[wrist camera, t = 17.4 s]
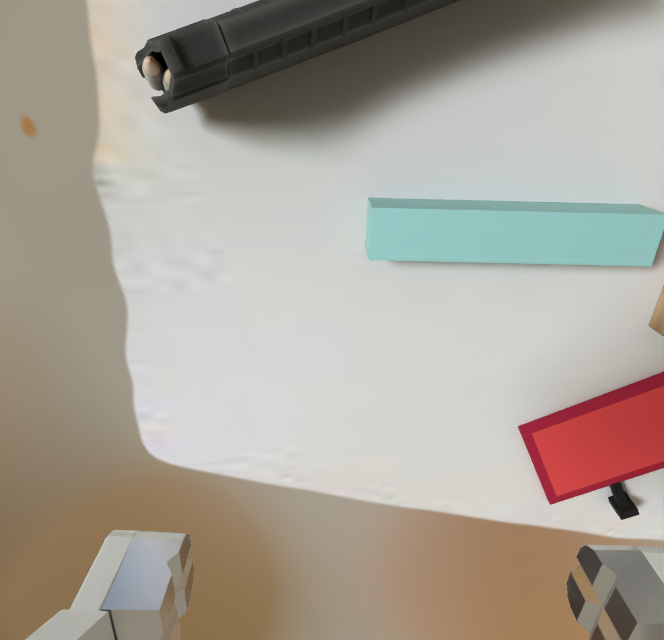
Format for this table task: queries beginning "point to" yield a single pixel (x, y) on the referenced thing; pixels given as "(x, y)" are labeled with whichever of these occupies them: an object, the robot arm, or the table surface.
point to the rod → (512, 232)
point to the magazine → (261, 43)
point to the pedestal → (658, 315)
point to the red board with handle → (600, 443)
